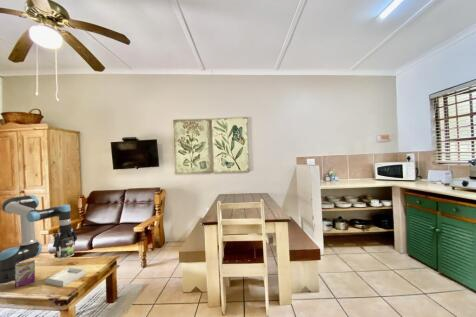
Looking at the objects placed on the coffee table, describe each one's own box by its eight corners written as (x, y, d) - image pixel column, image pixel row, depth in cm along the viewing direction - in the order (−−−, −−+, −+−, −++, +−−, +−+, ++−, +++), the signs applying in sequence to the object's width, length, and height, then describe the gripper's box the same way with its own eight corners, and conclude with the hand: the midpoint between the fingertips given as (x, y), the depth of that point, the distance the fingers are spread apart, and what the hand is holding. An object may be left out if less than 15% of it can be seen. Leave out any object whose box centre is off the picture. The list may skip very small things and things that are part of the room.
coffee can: (77, 253, 183) (76, 236, 183) (65, 258, 173) (64, 240, 173) (66, 252, 186) (66, 235, 185) (54, 258, 175) (53, 240, 175)
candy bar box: (15, 287, 168) (14, 265, 168) (15, 285, 172) (14, 263, 172) (35, 282, 176) (34, 261, 176) (35, 279, 180) (34, 259, 180)
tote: (46, 283, 173) (45, 278, 173) (69, 271, 191) (69, 267, 191) (63, 286, 168) (63, 281, 168) (85, 274, 186) (85, 269, 186)
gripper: (53, 229, 167) (54, 258, 168) (82, 220, 189) (82, 247, 189) (46, 228, 170) (47, 257, 170) (75, 220, 191) (76, 246, 191)
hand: (65, 252), depth 179 cm, fingers closed on coffee can, 10 cm apart
